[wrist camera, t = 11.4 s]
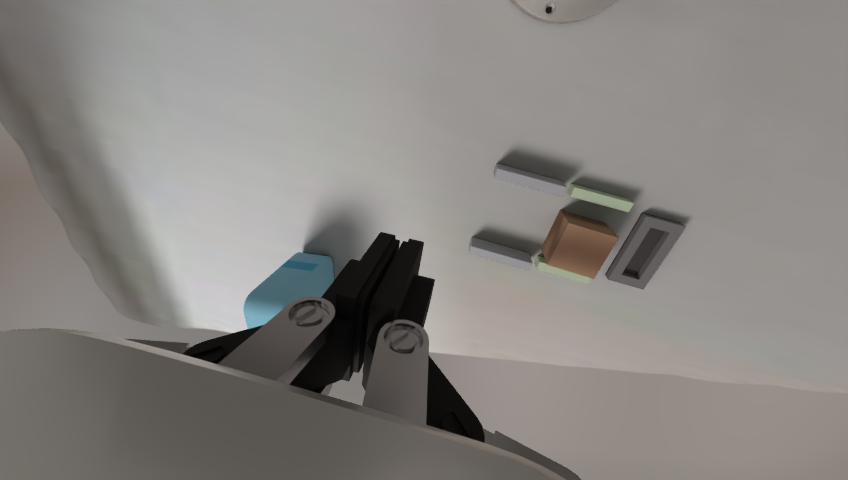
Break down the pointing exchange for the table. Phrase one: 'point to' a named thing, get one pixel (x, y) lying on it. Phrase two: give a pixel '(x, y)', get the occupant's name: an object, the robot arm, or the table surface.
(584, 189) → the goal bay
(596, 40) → the table surface
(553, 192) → the walled lane
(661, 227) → the tray
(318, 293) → the data package
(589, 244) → the walnut block
